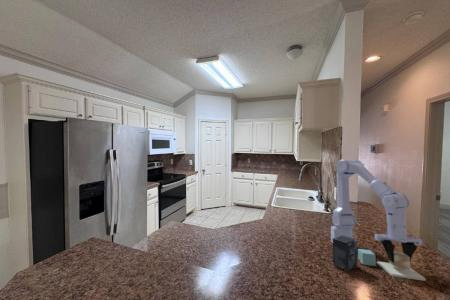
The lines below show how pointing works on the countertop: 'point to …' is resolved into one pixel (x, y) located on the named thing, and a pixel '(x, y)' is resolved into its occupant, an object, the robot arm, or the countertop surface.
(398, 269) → the baseplate
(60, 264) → the countertop surface
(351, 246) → the box
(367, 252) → the brick top
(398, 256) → the brick base
